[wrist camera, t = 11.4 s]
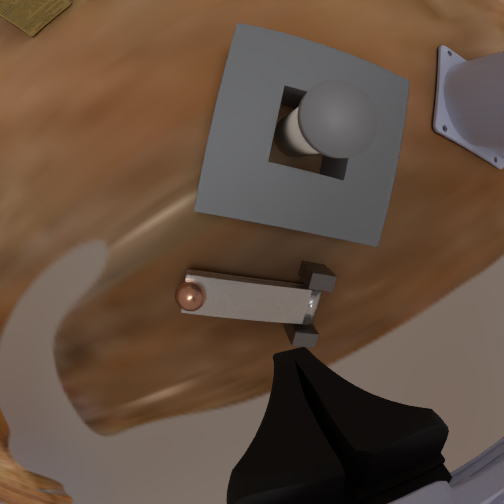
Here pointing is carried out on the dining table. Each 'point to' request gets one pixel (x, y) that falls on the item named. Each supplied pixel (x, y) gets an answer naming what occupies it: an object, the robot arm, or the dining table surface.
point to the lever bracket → (317, 280)
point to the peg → (329, 122)
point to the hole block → (262, 132)
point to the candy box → (31, 13)
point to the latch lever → (246, 298)
